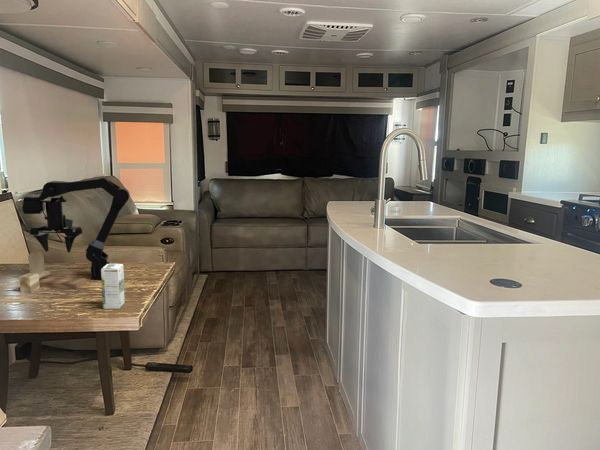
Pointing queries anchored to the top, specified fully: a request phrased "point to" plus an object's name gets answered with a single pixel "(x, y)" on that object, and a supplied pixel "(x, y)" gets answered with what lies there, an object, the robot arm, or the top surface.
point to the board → (61, 282)
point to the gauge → (31, 281)
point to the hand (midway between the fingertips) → (57, 251)
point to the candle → (36, 262)
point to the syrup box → (113, 286)
